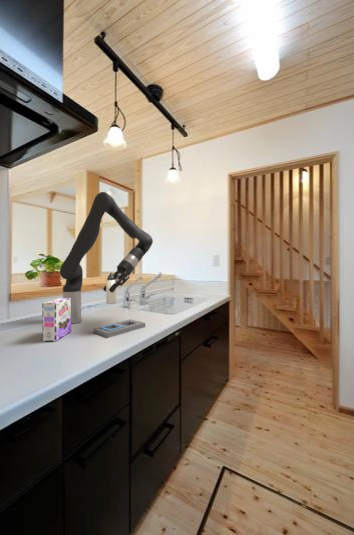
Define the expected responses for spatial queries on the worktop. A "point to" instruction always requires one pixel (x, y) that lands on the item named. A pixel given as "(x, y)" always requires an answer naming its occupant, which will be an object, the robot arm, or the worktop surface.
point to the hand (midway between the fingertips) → (107, 290)
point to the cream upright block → (109, 295)
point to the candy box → (56, 319)
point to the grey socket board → (118, 328)
